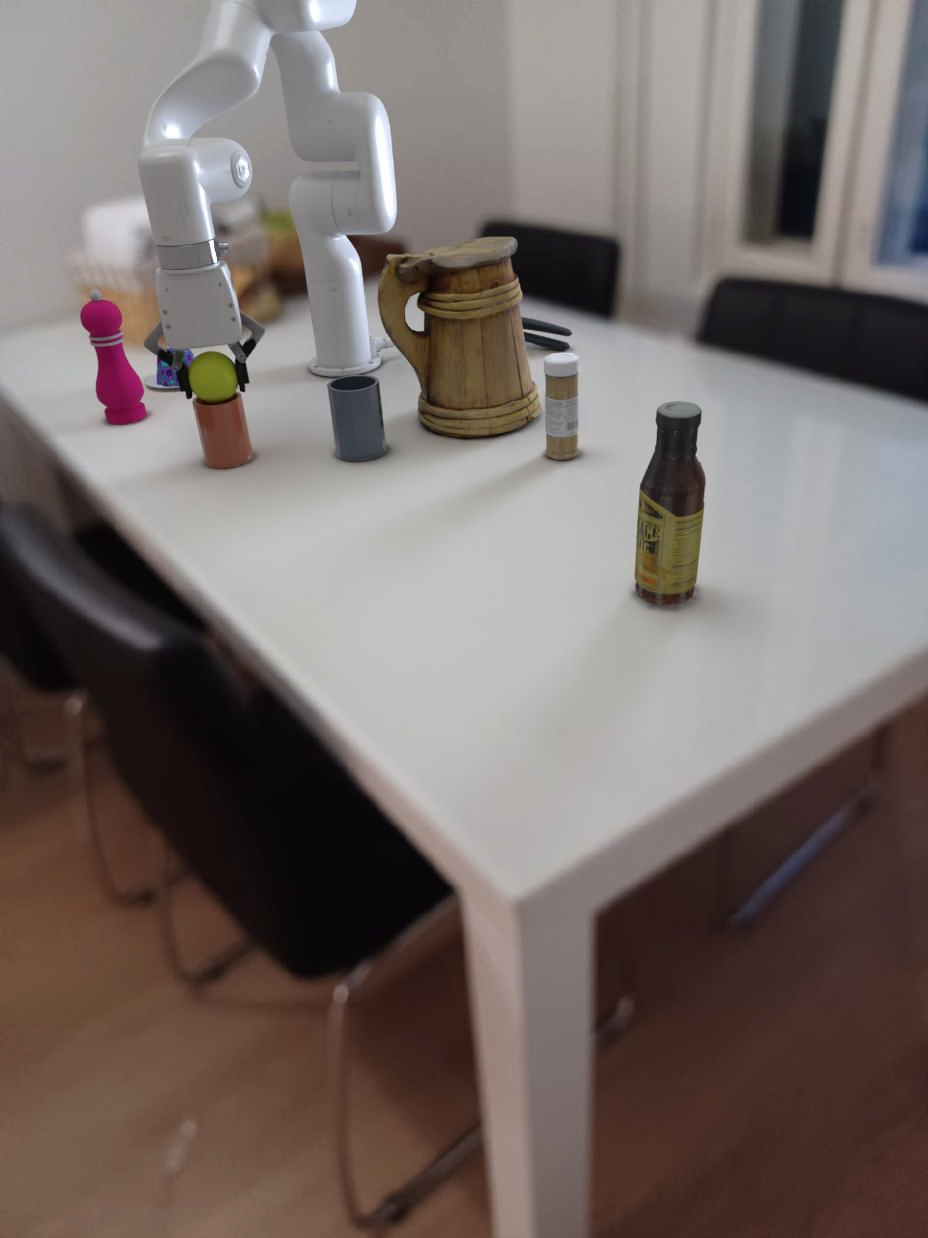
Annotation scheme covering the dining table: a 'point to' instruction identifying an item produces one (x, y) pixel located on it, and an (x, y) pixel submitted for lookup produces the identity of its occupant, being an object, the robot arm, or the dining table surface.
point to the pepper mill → (112, 362)
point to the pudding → (167, 372)
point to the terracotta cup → (223, 432)
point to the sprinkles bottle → (561, 405)
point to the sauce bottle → (671, 509)
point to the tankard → (463, 335)
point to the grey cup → (357, 417)
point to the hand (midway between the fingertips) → (216, 391)
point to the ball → (212, 377)
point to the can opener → (547, 328)
